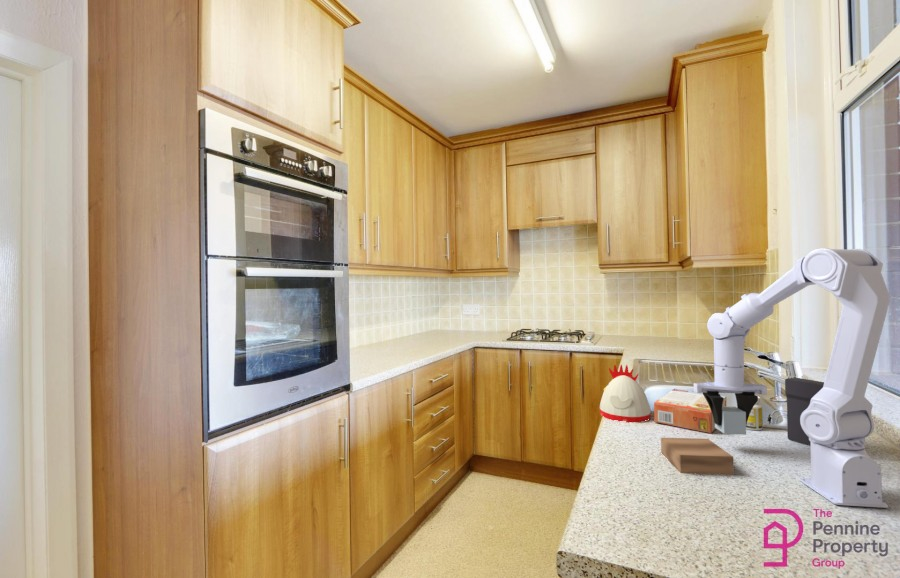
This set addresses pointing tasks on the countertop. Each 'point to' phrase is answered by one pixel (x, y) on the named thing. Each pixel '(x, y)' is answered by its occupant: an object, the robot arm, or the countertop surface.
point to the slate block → (732, 421)
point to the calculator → (799, 405)
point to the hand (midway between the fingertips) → (730, 424)
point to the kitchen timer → (624, 398)
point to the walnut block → (697, 456)
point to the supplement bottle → (755, 417)
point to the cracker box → (685, 410)
